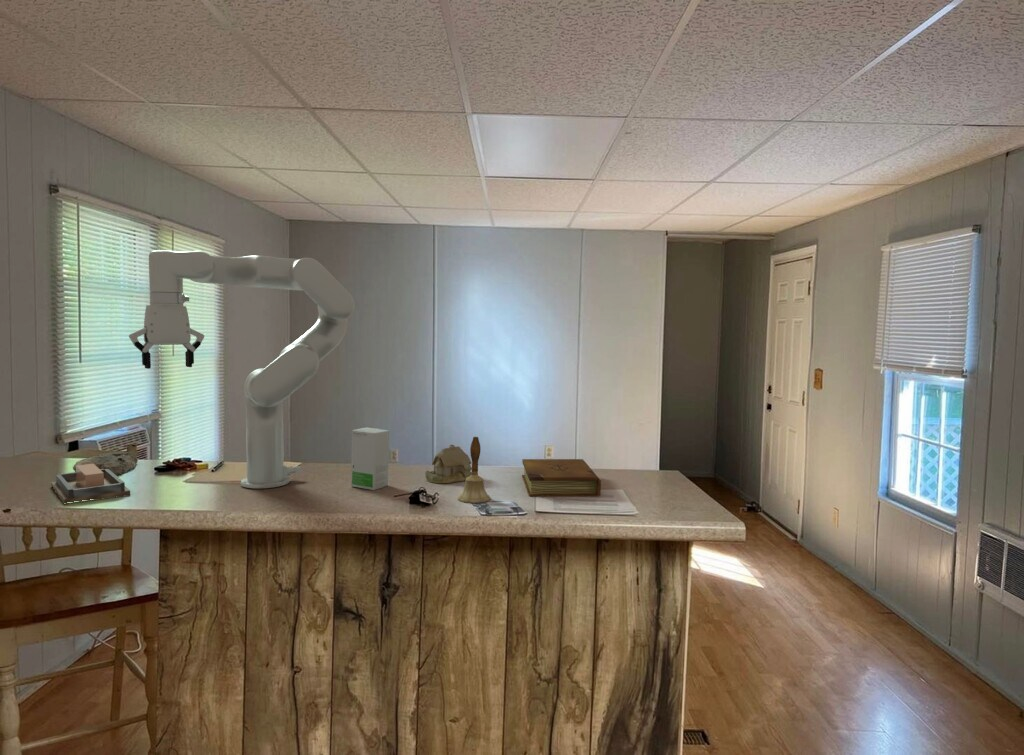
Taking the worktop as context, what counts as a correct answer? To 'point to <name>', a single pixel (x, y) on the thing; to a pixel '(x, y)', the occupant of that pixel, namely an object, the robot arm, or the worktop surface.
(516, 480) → the worktop surface
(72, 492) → the gray rectangular frame
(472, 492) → the hand bell
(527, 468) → the diary
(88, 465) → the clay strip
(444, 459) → the ceramic model
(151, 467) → the worktop surface
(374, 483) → the skincare box
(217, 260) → the robot arm
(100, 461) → the clay tablet
